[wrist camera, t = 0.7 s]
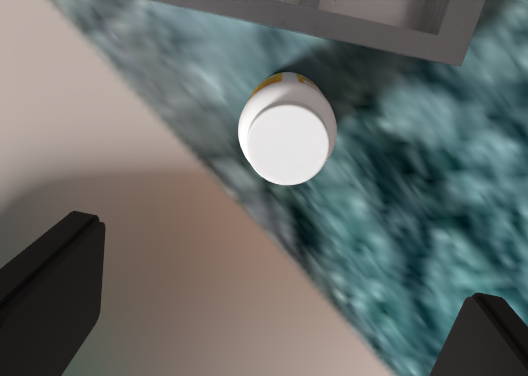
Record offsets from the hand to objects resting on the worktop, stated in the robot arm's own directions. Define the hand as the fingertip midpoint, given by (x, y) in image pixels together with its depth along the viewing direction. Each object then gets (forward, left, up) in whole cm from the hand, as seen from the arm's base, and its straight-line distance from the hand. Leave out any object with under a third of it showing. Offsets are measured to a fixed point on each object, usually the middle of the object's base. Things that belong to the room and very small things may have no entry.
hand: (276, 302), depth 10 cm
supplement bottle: (-2, 0, -20) cm, 20 cm away
